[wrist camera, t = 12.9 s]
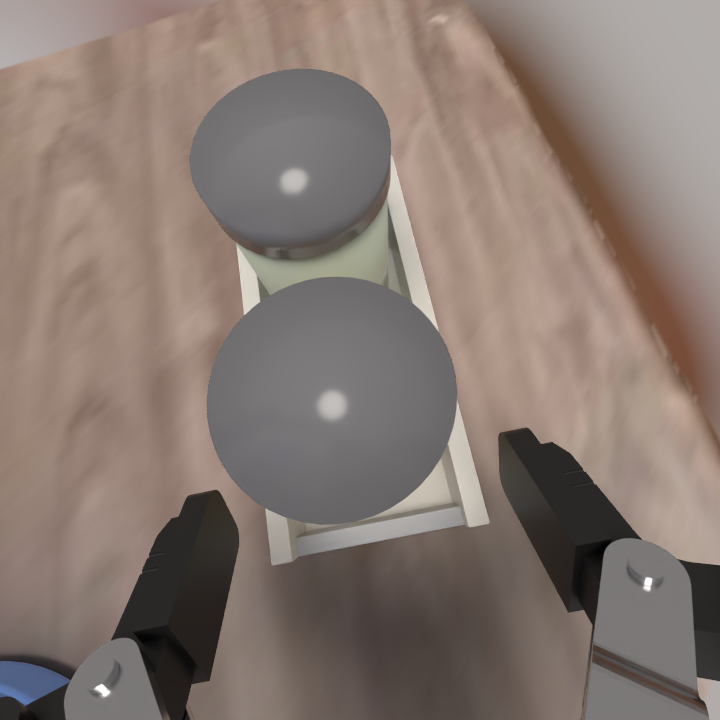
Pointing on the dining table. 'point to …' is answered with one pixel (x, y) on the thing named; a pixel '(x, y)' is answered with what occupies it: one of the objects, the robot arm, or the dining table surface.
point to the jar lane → (451, 474)
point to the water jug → (28, 681)
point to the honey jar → (331, 400)
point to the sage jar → (299, 176)
